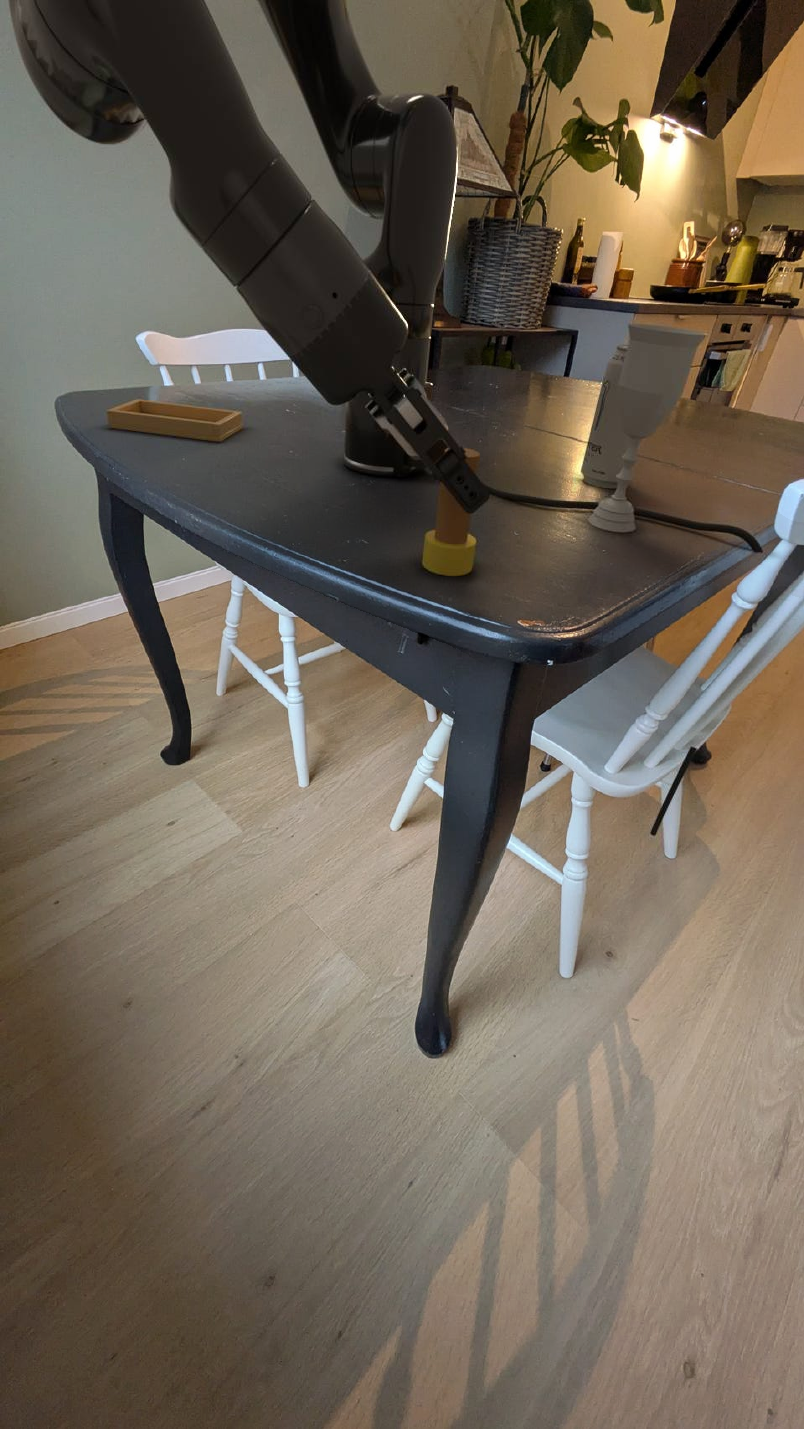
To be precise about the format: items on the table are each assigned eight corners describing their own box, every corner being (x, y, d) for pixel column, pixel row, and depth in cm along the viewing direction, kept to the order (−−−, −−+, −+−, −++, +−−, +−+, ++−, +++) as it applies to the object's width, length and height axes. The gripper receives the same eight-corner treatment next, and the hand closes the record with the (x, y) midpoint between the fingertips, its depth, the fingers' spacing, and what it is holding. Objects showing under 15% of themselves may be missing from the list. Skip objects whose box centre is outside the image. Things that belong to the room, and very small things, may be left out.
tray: (242, 428, 87) (241, 411, 86) (220, 442, 81) (218, 424, 80) (139, 415, 89) (137, 399, 87) (109, 427, 82) (106, 410, 81)
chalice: (565, 513, 69) (611, 322, 59) (615, 510, 72) (668, 325, 61) (607, 538, 64) (665, 333, 53) (658, 533, 66) (725, 336, 56)
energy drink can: (576, 473, 83) (607, 342, 74) (621, 478, 83) (659, 347, 74) (582, 486, 78) (616, 348, 69) (630, 492, 78) (671, 354, 69)
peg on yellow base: (480, 564, 56) (498, 452, 50) (458, 581, 53) (476, 463, 47) (436, 551, 58) (449, 441, 52) (413, 566, 54) (424, 451, 49)
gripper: (386, 269, 35) (533, 482, 45) (349, 260, 46) (473, 432, 56) (292, 370, 37) (451, 553, 47) (278, 338, 48) (409, 491, 58)
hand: (463, 487), depth 51 cm, fingers open, 8 cm apart
